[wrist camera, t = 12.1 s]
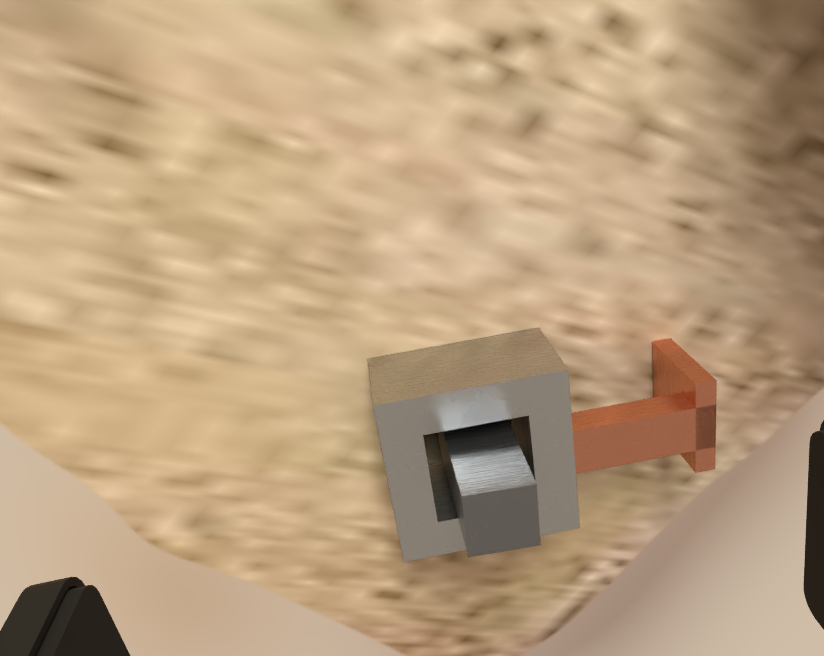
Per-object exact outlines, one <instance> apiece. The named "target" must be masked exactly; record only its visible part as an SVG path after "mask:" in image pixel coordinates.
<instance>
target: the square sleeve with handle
mask: <svg viewBox="0 0 824 656" xmlns="http://www.w3.org/2000/svg"><path fill="white" fill-rule="evenodd" d="M652 348H653V393H654V398H650V399H644V400H639V401H634V402H628V403H623V404H618V405H612V406H607V407H602V408H596V409H591V410H586V411H580V412H575V413H571V402H570V388H569V375H568V369H567V367H566V366H565V364H564V363H563V361H562V360H561V359H560V357H559V356H558V354H557V353H556V351H555V350H554V349H553V347H552V346H551V344H550V343H549V341H548V340H547V338H546V337H545V336H544V334H543V333H542V331H541V330H540V328H535V329H529V330H524V331H519V332H513V333H508V334H502V335H497V336H491V337H486V338H480V339H475V340H469V341H464V342H458V343H453V344H447V345H442V346H436V347H431V348H426V349H420V350H415V351H409V352H404V353H398V354H393V355H387V356H382V357H376V358H371V359H368V366H369V375H370V384H371V393H372V401H373V408H374V413H375V418H376V423H377V429H378V434H379V439H380V444H381V449H382V454H383V459H384V464H385V469H386V474H387V479H388V484H389V489H390V494H391V499H392V505H393V510H394V515H395V520H396V525H397V530H398V535H399V540H400V545H401V550H402V555H403V560H404V562H407V561H412V560H417V559H422V558H427V557H432V556H438V555H443V554H448V553H453V552H458V551H463V550H466V546H465V542H464V539H463V535H462V531H461V527H460V523H459V519H458V516H457V512H456V508H455V504H454V500H453V497H452V493H451V489H450V485H449V481H448V477H447V474H446V470H445V466H444V462H442V463H436V464H431V465H428V461H427V455H426V450H425V444H424V438H423V435H427V434H432V433H438V432H443V431H448V430H454V429H459V428H465V427H470V426H475V425H481V424H486V423H491V422H497V421H502V420H507V419H511V426H512V430H513V433H514V435H515V437H516V439H517V441H518V444H519V446H520V448H521V450H522V452H523V455H524V457H525V459H526V461H527V463H528V466H529V468H530V470H531V472H532V475H533V477H534V479H535V481H536V483H537V495H538V511H539V527H540V536H541V535H546V534H551V533H556V532H562V531H567V530H572V529H577V528H580V523H579V509H578V496H577V482H576V473H581V472H586V471H592V470H597V469H602V468H607V467H613V466H618V465H623V464H628V463H634V462H639V461H644V460H649V459H655V458H660V457H665V456H670V455H676V454H681V456H682V457H683V458H684V459H685V461H686V462H687V463H688V464H689V465H690V467H691V468H692V469H693V470H694V471H695V473H697V472H702V471H707V470H713V469H715V444H716V382H717V380H716V379H715V378H713V377H712V376H711V375H710V374H709V373H708V372H707V371H706V370H705V369H704V368H702V367H701V366H700V365H699V364H698V363H697V362H696V361H695V360H694V359H693V358H692V357H690V356H689V355H688V354H687V353H686V352H685V351H684V350H683V349H682V348H681V347H679V346H678V345H677V344H676V343H675V342H674V341H673V340H672V339H671V338H670V339H665V340H659V341H654V342H652Z"/></svg>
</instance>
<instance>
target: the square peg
mask: <svg viewBox="0 0 824 656" xmlns="http://www.w3.org/2000/svg"><path fill="white" fill-rule="evenodd" d="M438 438H439V447H440V451H441V454H442V458H443V462H444V466H445V470H446V474H447V477H448V481H449V485H450V489H451V493H452V497H453V500H454V504H455V508H456V512H457V516H458V519H459V523H460V527H461V531H462V535H463V539H464V542H465V546H466V550H467V554H468V557H472V556H478V555H484V554H490V553H496V552H502V551H508V550H514V549H520V548H526V547H532V546H538V545H541V544H540V527H539V511H538V495H537V483H536V481H535V479H534V477H533V475H532V472H531V470H530V468H529V466H528V463H527V461H526V459H525V457H524V455H523V452H522V450H521V448H520V446H519V444H518V441H517V439H516V437H515V435H514V433H513V430H512V428H511V426H510V424H509V422H508V419H507V420H502V421H497V422H491V423H486V424H481V425H475V426H470V427H465V428H459V429H454V430H448V431H443V432H438Z"/></svg>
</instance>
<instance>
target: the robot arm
mask: <svg viewBox="0 0 824 656" xmlns="http://www.w3.org/2000/svg"><path fill="white" fill-rule="evenodd" d="M804 594H805V598H806V601H807V604H808V607H809V608H810V610H811V612H812V614H813V616H814V617H815V619H816V620H817V621H818V623H819V624H820V625H821V627H822V628H823V629H824V421H823V423H822V424H821V428H820V431H817V432H815V433H813V434H812V436H811V438H810V448H809V472H808V496H807V519H806V544H805V568H804ZM0 656H130V654H129V652H128V650H127V648H126V646H125V644H124V642H123V640H122V638H121V636H120V634H119V632H118V630H117V628H116V626H115V624H114V622H113V620H112V617H111V615H110V614H109V612H108V609H107V607H106V605H105V603H104V601H103V599H102V597H101V595H100V593H99V591H98V590H97V588H95V587H94V586H93V585H88V586H85V585H84V583H83V582H82V581H81V580H80V579H78V578H77V577H69V578H64V579H59V580H55V581H50V582H45V583H40V584H36V585H31V586H29V587H27V588H26V589H25V590H24V591H23V592H22V593H21V595H20V596H19V598H18V600H17V602H16V604H15V605H14V607H13V609H12V611H11V613H10V614H9V616H8V618H7V620H6V622H5V623H4V625H3V627H2V629H1V631H0Z"/></svg>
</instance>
